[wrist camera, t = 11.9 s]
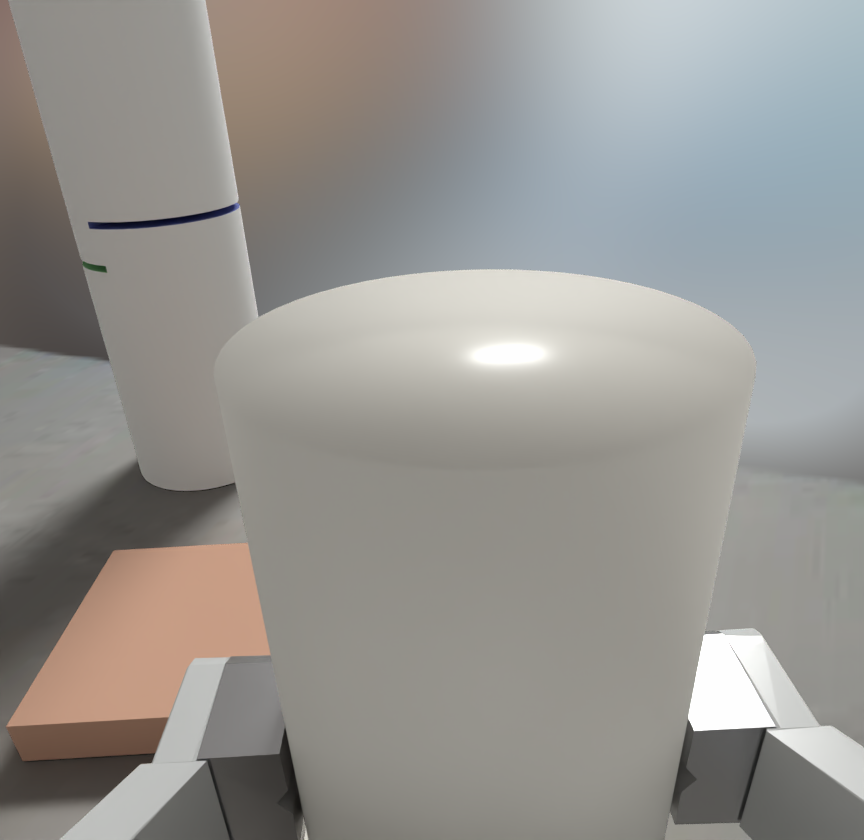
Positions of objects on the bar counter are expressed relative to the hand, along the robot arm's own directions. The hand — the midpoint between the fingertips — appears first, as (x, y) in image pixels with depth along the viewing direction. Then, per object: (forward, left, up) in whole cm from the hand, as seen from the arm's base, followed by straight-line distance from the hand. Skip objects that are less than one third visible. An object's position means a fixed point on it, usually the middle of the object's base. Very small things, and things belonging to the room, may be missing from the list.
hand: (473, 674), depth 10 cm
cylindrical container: (-12, +25, -10) cm, 29 cm away
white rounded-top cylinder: (0, -1, -7) cm, 7 cm away
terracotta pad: (-9, +11, -10) cm, 17 cm away
